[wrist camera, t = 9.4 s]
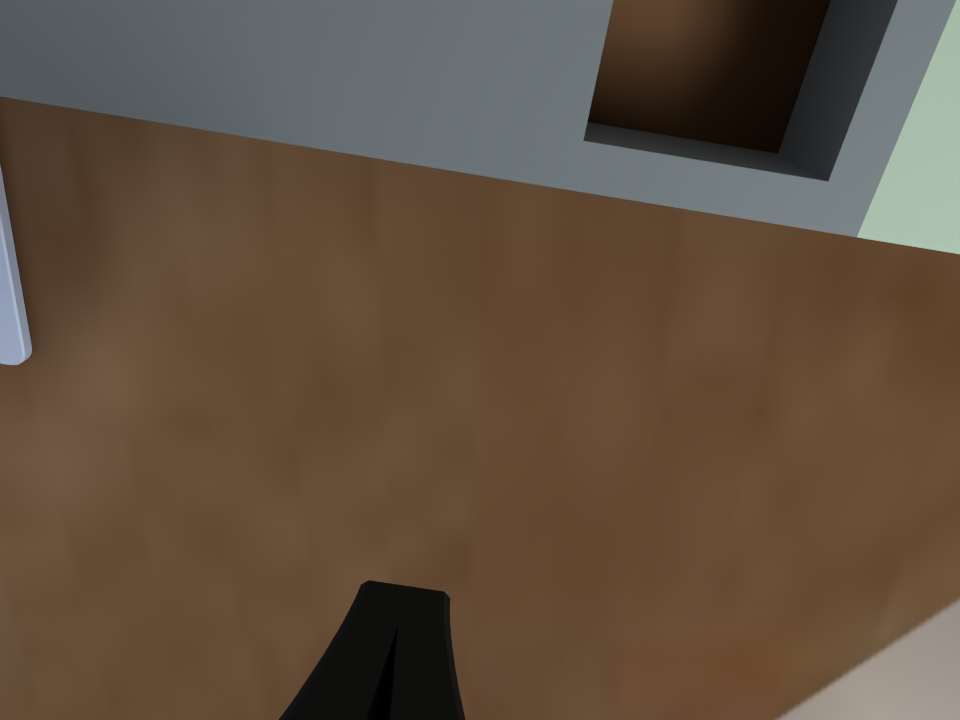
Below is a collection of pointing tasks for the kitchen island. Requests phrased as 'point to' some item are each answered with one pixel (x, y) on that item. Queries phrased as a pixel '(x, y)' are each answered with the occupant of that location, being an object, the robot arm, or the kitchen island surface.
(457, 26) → the trap board
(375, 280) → the kitchen island surface
